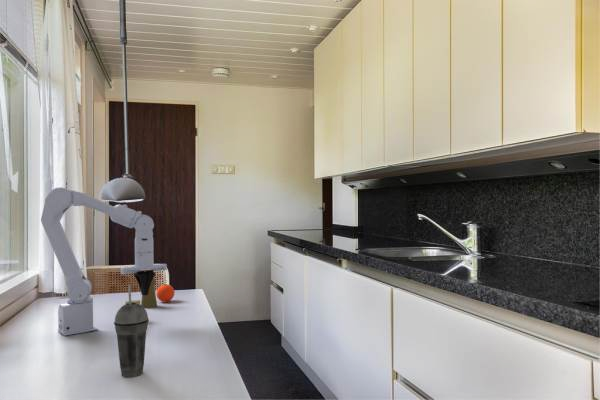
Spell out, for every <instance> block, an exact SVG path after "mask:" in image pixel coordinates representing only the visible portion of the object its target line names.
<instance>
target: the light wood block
mask: <svg viewBox="0 0 600 400" xmlns="http://www.w3.org/2000/svg"><path fill="white" fill-rule="evenodd" d="M128 303H129V300H125V304H128ZM131 303H137V304H140V305H141V299H135V300H131Z"/></svg>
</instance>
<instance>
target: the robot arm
mask: <svg viewBox="0 0 600 400" xmlns="http://www.w3.org/2000/svg"><path fill="white" fill-rule="evenodd" d="M72 206H73V207H87V208H90V209H93V210H95V211H98V212H101V213H103V214H106V215H108V216H109V218H110V220H111V221H112V222H113V223H116V224H118V225H121V226H123V227H126V228H129V229H132V228H134V229H135V238H134V265H133V266H126V267H120V274H121V275H124V276H125V275H129V274H133V276H134V277H135V279H136V282H137V284H138V286H139V290H140V293H141V296H142V295H148V292H149V288H150V285H151V282H152V280H153V278H154V279H155V276H156V271H157V272H159V271H167V270H168V269H167V268H168V265H167V263H157V264H156V263H155V262H154V261H155V260H154V254H155V253H154V250H155V249H154V237H153V236H154V232H153V229H154V227H155V223H154V220H153V218H152V217H151V216H149V215H146V214H142V213H143V212H142V211H140V210H138V211H137V210H135V209H132V208H130V207H128V205H127V204H123V205H122V204H120V203H119V204H116V205H114V206H113V205H111V204H109V203H107V202H105V201H102V200H101V199H97V198H95V197H93V196H91V195H89V194H86V193H83V192H80V191H76V190H71V189H67V188H65V187H62V186H61V187H55V188H53V189H52V190H50V192H49V193H48V194H47V195H46V197H45V198H44V206H43V208H42V214H41V218H40V222H41V225H42V227H43V229H44V232H45V234H46V236H47V239H48V241H49V244H50V245H51V247H52V250H53V252H54V255H55V258H56V260H57V262H58V263H59V266H60V268H61V270H62V271H61V272H62V273H63V276H64V280H65V283H66V286H67V289H66V291H67V292H66V294H67V297H68V299H67V300H66V302H65V303H60V304H59V305H58V310H57V318H58V319H57V320H58V321H57V322H58V326H57V327H58V329H57V332H58V333H60V334H61V335H62V336H70V335H77V334H83V333H88V332H93V331H98V329H99V328H98V327H97V326H94V299H93V297H91V296H90V295H91V293H92V289H93V285H92V282H91V280H89V279H88V278H87V277H86V276H85V274H84V272H83V270H82V268H81V267H80V265H79V263H78V260H77V258H76V257H77V256H76V255H75V253H74V251H73V249H72V246H71V244H70V242H69V241H70V240H69V239H68V237H67V235H66V233H65V230H64V228H63V224H62V223H61V220H62V218H63V217H64V215H65V213H66V211H68V210H69V209H70V207H72ZM154 263H155V264H154Z"/></svg>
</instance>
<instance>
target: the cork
mask: <svg viewBox="0 0 600 400" xmlns="http://www.w3.org/2000/svg"><path fill="white" fill-rule="evenodd" d="M156 284H157V283H156V279H155V277H154V278H153V280H152V282H151V285H150V288H149V292H148V295H141V299H140V305H141V306H142V307H143V308H144V309H151V308H152V309H153V308H157V307H158V303H157V294H156V291H155V290H156V289H155V286H156Z"/></svg>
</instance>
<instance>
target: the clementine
mask: <svg viewBox="0 0 600 400" xmlns="http://www.w3.org/2000/svg"><path fill="white" fill-rule="evenodd" d="M174 296H175V289H174V287H173V286H172V285H170V284H168V283H167V284H166V283H165V284H162V285H160V286H159V287H158V288H157V290H156V298H157V299H158V300H159V301H160V302H162V303H166V302H170V301H172V299H173V298H174Z"/></svg>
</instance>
